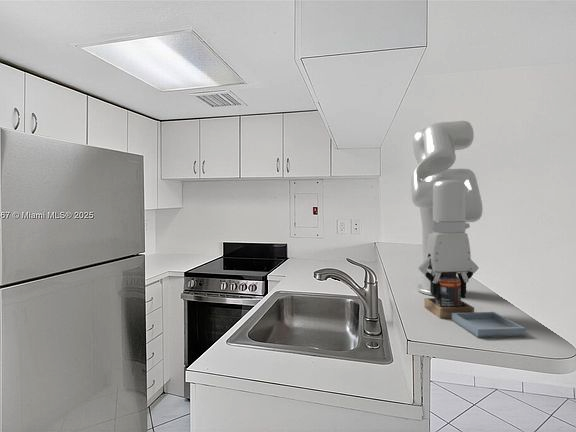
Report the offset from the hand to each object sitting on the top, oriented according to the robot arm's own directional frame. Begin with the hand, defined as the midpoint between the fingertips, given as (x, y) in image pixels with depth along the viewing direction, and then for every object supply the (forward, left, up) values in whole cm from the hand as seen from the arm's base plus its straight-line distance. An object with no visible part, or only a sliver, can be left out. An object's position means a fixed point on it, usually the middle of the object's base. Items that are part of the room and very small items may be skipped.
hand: (448, 296), depth 86 cm
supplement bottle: (0, 0, -4) cm, 4 cm away
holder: (0, 0, -4) cm, 4 cm away
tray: (+11, +3, -4) cm, 12 cm away
